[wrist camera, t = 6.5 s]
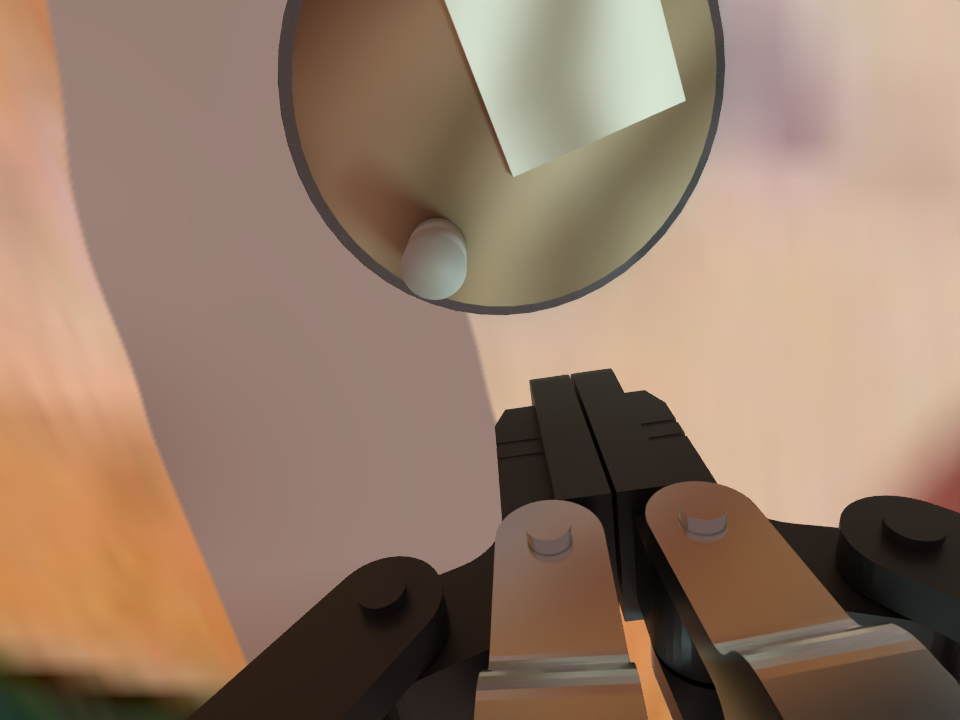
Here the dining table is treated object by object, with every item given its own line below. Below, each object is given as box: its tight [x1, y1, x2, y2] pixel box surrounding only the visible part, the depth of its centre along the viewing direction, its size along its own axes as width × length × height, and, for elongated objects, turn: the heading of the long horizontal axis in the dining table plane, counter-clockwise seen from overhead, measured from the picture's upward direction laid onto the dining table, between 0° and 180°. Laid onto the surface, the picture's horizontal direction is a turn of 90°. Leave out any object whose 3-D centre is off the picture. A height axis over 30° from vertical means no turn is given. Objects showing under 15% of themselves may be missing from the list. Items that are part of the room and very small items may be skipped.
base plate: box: [278, 0, 725, 315], centre depth 24 cm, size 19×18×1 cm
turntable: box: [292, 0, 717, 306], centre depth 21 cm, size 16×16×5 cm
